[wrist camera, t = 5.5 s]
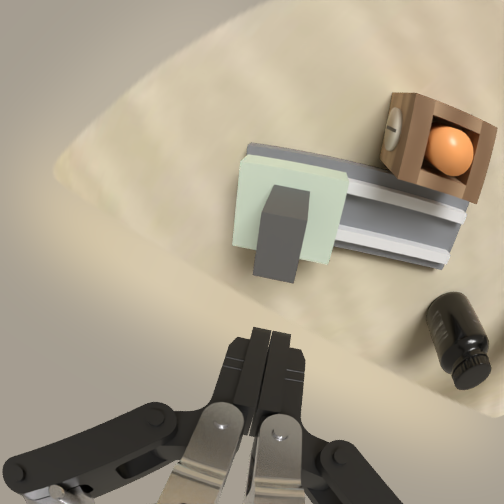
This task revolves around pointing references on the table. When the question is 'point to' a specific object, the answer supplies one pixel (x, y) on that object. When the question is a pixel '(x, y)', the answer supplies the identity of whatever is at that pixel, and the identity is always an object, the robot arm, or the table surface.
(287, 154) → the track
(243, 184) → the carriage
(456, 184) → the cabinet
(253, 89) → the table surface
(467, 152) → the button
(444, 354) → the supplement bottle
